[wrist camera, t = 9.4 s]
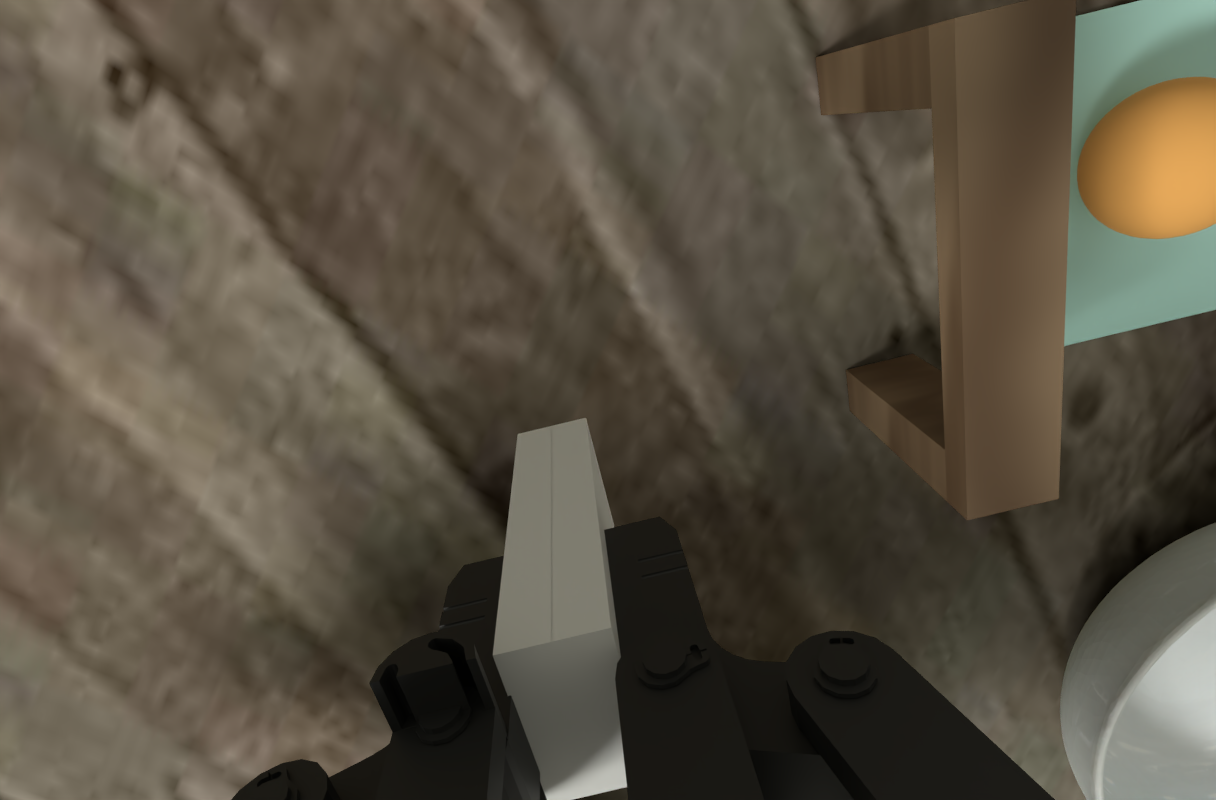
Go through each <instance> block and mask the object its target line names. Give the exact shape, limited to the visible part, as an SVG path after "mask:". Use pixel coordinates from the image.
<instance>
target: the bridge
mask: <svg viewBox="0 0 1216 800" xmlns="http://www.w3.org/2000/svg"><path fill="white" fill-rule="evenodd" d="M1075 24H1076V0H1026V1H1022V2H1018V3H1014V4H1010V5H1006V6H1001V7H997V8H993V9H989V10H985V11H981V12H977V13H973V14H969V15H965V16H961V17H957V18H953V19H949V20H946V21H942V22H939V23H935V24H932V25H928V26H925V27H921V28H918V29H914V30H911V31H907V32H904V33H900V34H897V35H893V36H890V37H886V38H883V39H879V40H875V41H872V42H868V43H865V44H861V45H858V46H854V47H851V48H847V49H844V50H840V51H837V52H833V53H830V54H826V55H823V56H819V57H816V67H817V77H818V87H819V97H820V108H821V115H832V114H848V113H864V112H880V111H895V110H911V109H927V108H932V128H933V153H934V179H935V205H936V231H937V257H938V283H939V309H940V335H941V361H942V371H940V370H939V369H937V368H936V367H934V366H932V365H931V364H929V363H927V362H926V361H924V360H922V359H921V358H919V357H918V356H916V355H914V354H910V355H906V356H902V357H897V358H893V359H889V360H885V361H881V362H877V363H872V364H868V365H864V366H860V367H856V368H852V369H848V370H846V376H847V386H848V397H849V407H850V411H851V412H852V413H853V414H854V415H855V416H856V417H857V418H858V419H859V420H860V421H861V422H862V423H863V424H864V425H866V426H867V427H868V428H869V429H870V430H871V431H872V432H873V433H874V434H875V435H876V436H877V437H878V438H879V439H881V440H882V441H883V442H884V443H885V444H886V445H887V446H888V447H889V448H890V449H891V450H892V451H893V452H894V453H896V454H897V455H898V456H899V457H900V458H901V459H902V460H903V461H904V462H905V463H906V464H907V465H908V466H909V467H910V468H912V469H913V470H914V471H915V472H916V473H917V474H918V475H919V476H920V477H921V478H922V479H923V480H924V481H925V482H927V483H928V484H929V485H930V486H931V487H932V488H933V489H934V490H935V491H936V492H937V493H938V494H939V495H940V496H942V497H943V498H944V499H945V500H946V501H947V502H948V503H949V504H950V505H951V506H952V507H953V508H954V509H955V510H957V511H958V512H959V513H960V514H961V515H962V516H963V517H964V518H965V519H966V520H971V519H976V518H980V517H984V516H988V515H992V514H997V513H1001V512H1005V511H1009V510H1014V509H1018V508H1022V507H1026V506H1030V505H1035V504H1039V503H1043V502H1047V501H1052V500H1056V499H1059V478H1060V450H1061V421H1062V393H1063V365H1064V336H1065V308H1066V280H1067V251H1068V223H1069V195H1070V166H1071V138H1072V110H1073V81H1074V53H1075Z"/></svg>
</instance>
